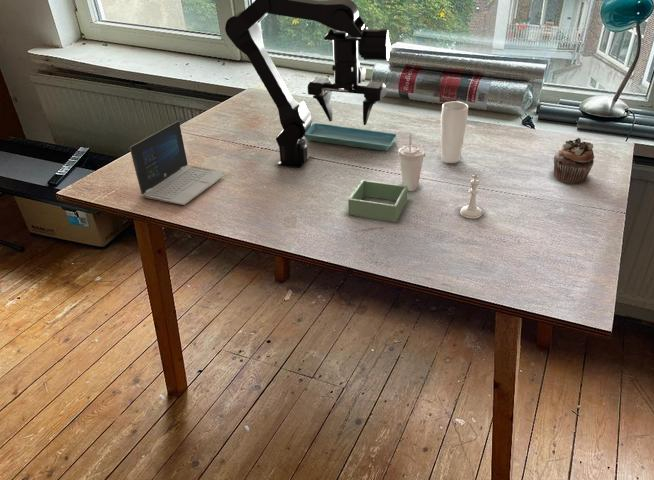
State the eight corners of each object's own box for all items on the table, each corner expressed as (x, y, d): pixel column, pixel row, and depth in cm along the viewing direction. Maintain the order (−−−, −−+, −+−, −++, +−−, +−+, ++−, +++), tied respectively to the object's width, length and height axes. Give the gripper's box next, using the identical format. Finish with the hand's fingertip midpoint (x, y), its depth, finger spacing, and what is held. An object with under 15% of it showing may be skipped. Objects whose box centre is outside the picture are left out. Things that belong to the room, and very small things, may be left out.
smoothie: (392, 184, 142) (394, 131, 134) (414, 179, 144) (417, 126, 136) (405, 195, 138) (408, 140, 129) (428, 189, 140) (431, 135, 132)
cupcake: (595, 176, 145) (605, 139, 140) (578, 189, 140) (587, 151, 134) (561, 165, 151) (569, 129, 145) (543, 177, 145) (550, 140, 139)
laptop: (184, 207, 133) (173, 155, 126) (141, 197, 137) (128, 146, 130) (227, 175, 147) (219, 127, 139) (187, 167, 151) (177, 120, 143)
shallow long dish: (398, 140, 165) (398, 132, 163) (389, 153, 158) (389, 144, 156) (314, 130, 171) (313, 122, 170) (302, 141, 164) (301, 133, 163)
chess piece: (476, 220, 128) (482, 180, 122) (456, 214, 130) (460, 175, 124) (485, 211, 131) (490, 171, 125) (465, 205, 133) (470, 166, 127)
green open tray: (348, 214, 130) (348, 199, 128) (362, 194, 138) (362, 179, 136) (395, 222, 127) (396, 206, 125) (407, 201, 135) (407, 186, 133)
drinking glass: (462, 166, 151) (467, 110, 142) (436, 164, 152) (440, 109, 143) (463, 155, 156) (469, 101, 147) (438, 153, 157) (443, 100, 148)
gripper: (393, 53, 138) (392, 115, 147) (322, 47, 143) (325, 108, 152) (379, 65, 130) (379, 131, 139) (304, 59, 135) (309, 123, 144)
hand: (347, 122), depth 144 cm, fingers open, 9 cm apart
